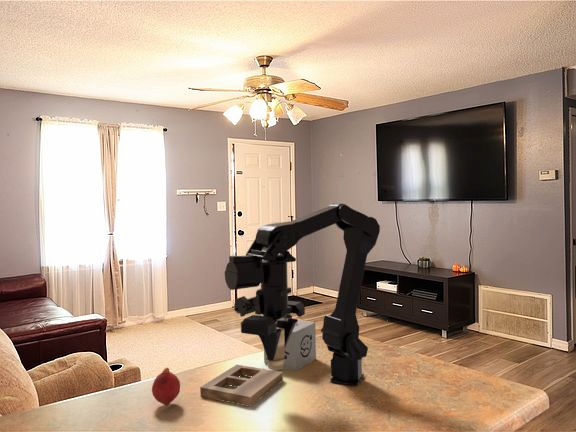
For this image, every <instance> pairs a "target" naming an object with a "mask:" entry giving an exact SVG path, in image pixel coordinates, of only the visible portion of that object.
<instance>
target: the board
mask: <svg viewBox="0 0 576 432" xmlns="http://www.w3.org/2000/svg"><path fill="white" fill-rule="evenodd" d="M240 375H247V376H246V377H245V378H244V377H242V376H240ZM239 376H240V377H239ZM248 376H252V377H249V378H247V377H248ZM283 381H284V372H283V371H278V370H271V369H268V368H267V369H266V368H259V367H253V366H247V365H243V364H235V365H234V366H232V367H230V368H229V369H227V370H226V371H224V372H222V373H221V374H219V375H218V376H216V377H214V378H213V379H211V380H209V381H208V382H206V383H205V384H202V386H200V397H204V398H209V399H214V400H217V399H218V401H222V400H223V402H227V401H229V402H228V403H232V402H234V403H233V404H237V403H239V404H238V405H241V404H244V405H243V406H246V405H248V406H247V407H252V406H253V405H255V404H256V403H257V402H258V401H260V400H261V399H262V398H264V397H265V396H266V395H267V394H268V393H269V392H271V391H272V390H273V389H274V388H275V387H277V386H278V385H279V384H280V383H282V382H283ZM226 385H227V386H228V385H232V386H231V387H233V386H239V387H235V388H234V389H232V388H226V387H227V386H226ZM271 389H272V390H271ZM267 392H268V393H267ZM266 393H267V394H266ZM265 394H266V395H265ZM261 397H262V398H261ZM260 398H261V399H260Z"/></svg>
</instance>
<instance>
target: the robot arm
mask: <svg viewBox="0 0 576 432" xmlns="http://www.w3.org/2000/svg"><path fill="white" fill-rule="evenodd" d="M332 225H335V226H336V227H337V228H338V229H340V230H341V231H343V238H342V239H343V241H344V245H345V249H346V253H345V258H344V264H343V268H342V273H341V278H340V284H339V289H338V293H337V294H338V295H337V299H336V304H335V307H334V310H333V312H332V313H331V314H330V315H327V314H325V315H324V317H323V325H322V328H321V330H320V332H321V334H322V336H321V337H322V340H323V342H324V344H325V345H326V347H327V350H328V352H332V358H331V359H330V376H331V378H330V379H329V380H330V382H331V383H337V384H343V385H349V386H354V387H355V386H358V385H359V383H360V382H361V381H362V380H363V378H364V377H365V374H364V373H363V372H362V371H363V367H362V360H363V358H366V357H367V355H368V352H369V351H368V350H369V347H368V346H367V345H366V344H365V343H364V342H363V341H362V340H361V339H360V337H359V335H360V326H359V325H360V324H359V322H358V321H359V320H358V317H357V309H358V303H359V298H360V294H361V289H362V284H363V277H364V274H365V269H366V262H367V258H368V255H369V253H370V252H371V251H372V250H373V248H374V247H375V246H376V245H377V241H378V238H379V234H380V231H381V227H380V226H381V225H380V224H379V222H378V220H377V219H376V218H375V217H373V216H368V215H366V214H364V213H363V212H359V211H358V210H356V209H353V208H352V207H350V206H349V205H347V204H345V203H330V204H329V205H328V206H326V207H324V208H321V209H318V210H315V211H313V212H310V213H308V214H306V215H304V216H301V217H298V218H296V219H293V220H290V221H284V222H275V223H270V224H265V225H261V226H260V227H259V228H258V229H257V231H256V234H255V238H254V240H253V242H252V243H251V245H250V247H249V248H248V250H247V252H246V254H245V255H230V256H229V257H228V258H229V259H228V260H229V262H228V263H227V264H226V267H225V270H224V280H225V283H226V286H227V288H228V289H229V290H231V291H234V290H241V289H250V288H255V287H260V288H258V289H257V290H256V291H255V296H253V297H252V296H251V297H248V298H247V297H246V296H245V295H244V296H243V295H242V296H240V297H237V298H235V299H234V308H233V311H235V313H237V314H239V315H240V318H241V317H244V316H246V315H249V314H251V313H254V314H252V315H249V316H248V317H245V318H244V319H243V320H242V321H241V322H240V333H241V334H246V335H247V334H248V335H254V336H258V337H259V339H260V341H261V343H262V346H263V350H264V349H265V352H266V355H267V358H268V360H273V359H274V356H275V353H276V349H277V345H278V342H279V338H280V334H281V330H282V329H277V327H278V328H283V329H284V337H285V347H286V345H287V342H288V340H289V338H290V335H291V333H292V331H293V329H294V327H295V325H296V323H297V322H298V320H299V319H297V318H293V315H291V314H296V316H297V317H298V318H299V317H300V318H301V317H303V316H304V315H305V314H306V310H305V309H306V307H305V305H304V304H303V302H301V301H294V300H289V296H288V295H289V294H291V293H292V287H288V285H289V284H288V263H292V262H296V261H297V258H296V257H294V255H292V254H291V253H290V251H289V250H291V249H292V248H293V247H295V246H296V245H298V242H299V241H300V240H302V239H303V238H305V237H307V236H309V235H311V234H314V233H317V232H318V231H321V230H324V229H326V228H329V227H330V226H332Z"/></svg>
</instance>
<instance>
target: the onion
mask: <svg viewBox="0 0 576 432" xmlns="http://www.w3.org/2000/svg"><path fill="white" fill-rule="evenodd" d="M180 390H181V382H180V379H179V377H178V376H177V375H176V374H174V373H173V372H171V371H170V368H169V367H167V366H166V367H164V369H163V370H162V372H161V373H160V374H159V373H158V375H157V376H156V378H155V379H154V381H153V383H152V386H151V392H152V393H151V394H152V396H153V397H154V399H155V400H156V401H157V402H158V403H161V404H162V405H164V406H169V405H170V404H171V403H172V402H173V401H175V399H176V398H177V397H178V396H179V394H180V392H181V391H180Z"/></svg>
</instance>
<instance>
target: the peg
mask: <svg viewBox="0 0 576 432" xmlns="http://www.w3.org/2000/svg"><path fill="white" fill-rule="evenodd" d="M277 329H282V330H281V334H280V338H279V342H278V345H277V349H276V353H275V356H274V359H273V360H268V358H267V355H266V359H267V360H268V365H267V369H268V370H273V371H278V370H282V369H284V368H283V367H284V359H285V337H284V329H283V328H278V327H277Z"/></svg>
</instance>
